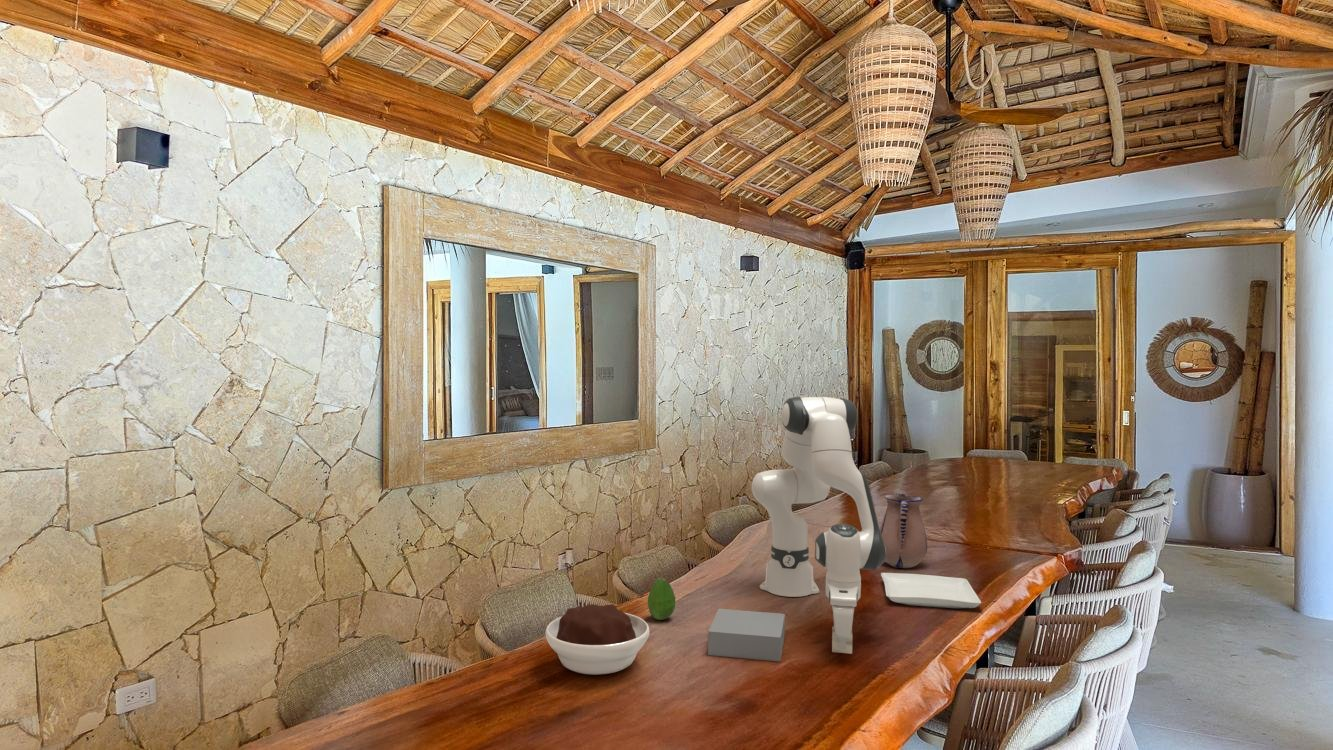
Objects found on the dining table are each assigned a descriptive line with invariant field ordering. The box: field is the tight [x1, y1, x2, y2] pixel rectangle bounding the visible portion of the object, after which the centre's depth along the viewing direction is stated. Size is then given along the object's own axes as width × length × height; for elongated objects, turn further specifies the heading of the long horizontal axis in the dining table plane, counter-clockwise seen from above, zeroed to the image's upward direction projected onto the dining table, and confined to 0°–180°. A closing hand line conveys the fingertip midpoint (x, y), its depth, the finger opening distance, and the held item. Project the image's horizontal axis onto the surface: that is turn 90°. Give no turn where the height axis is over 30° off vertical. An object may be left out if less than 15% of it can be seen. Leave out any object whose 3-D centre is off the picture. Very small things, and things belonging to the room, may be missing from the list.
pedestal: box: [707, 608, 786, 662], centre depth 205 cm, size 18×18×6 cm
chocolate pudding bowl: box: [545, 604, 650, 676], centre depth 190 cm, size 25×25×15 cm
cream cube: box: [831, 625, 853, 655], centre depth 203 cm, size 5×5×5 cm
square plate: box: [880, 572, 982, 609], centre depth 248 cm, size 27×27×4 cm
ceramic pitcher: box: [879, 493, 928, 569], centre depth 282 cm, size 18×21×25 cm
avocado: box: [647, 577, 676, 621], centre depth 224 cm, size 8×8×12 cm
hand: (842, 642), depth 203 cm, fingers open, 7 cm apart
